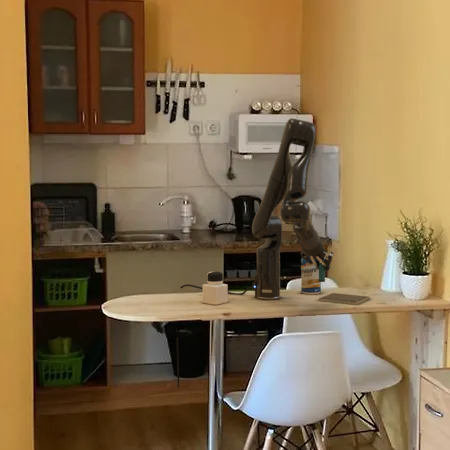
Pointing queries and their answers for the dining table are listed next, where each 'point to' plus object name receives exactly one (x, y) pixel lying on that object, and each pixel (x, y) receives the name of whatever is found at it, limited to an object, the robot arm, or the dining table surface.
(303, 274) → the beverage bottle
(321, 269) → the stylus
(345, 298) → the brown flat rectangular slab
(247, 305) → the dining table surface
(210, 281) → the medicine bottle
